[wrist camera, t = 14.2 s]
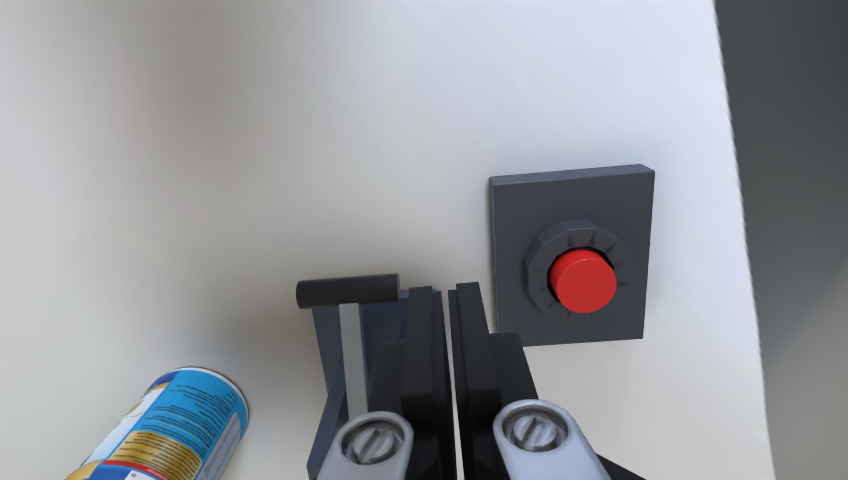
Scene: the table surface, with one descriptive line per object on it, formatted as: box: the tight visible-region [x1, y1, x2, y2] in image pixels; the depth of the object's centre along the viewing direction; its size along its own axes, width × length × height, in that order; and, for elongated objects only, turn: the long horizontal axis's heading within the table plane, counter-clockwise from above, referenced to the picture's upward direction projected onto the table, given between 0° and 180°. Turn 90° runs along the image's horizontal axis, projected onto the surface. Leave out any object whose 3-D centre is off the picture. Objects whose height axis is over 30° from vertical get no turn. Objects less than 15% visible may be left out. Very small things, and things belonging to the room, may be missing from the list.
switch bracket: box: [307, 289, 436, 480], centre depth 31 cm, size 11×9×13 cm
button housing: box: [490, 164, 655, 347], centre depth 32 cm, size 12×10×4 cm
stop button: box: [550, 249, 617, 313], centre depth 30 cm, size 4×4×2 cm
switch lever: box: [296, 274, 400, 421], centre depth 27 cm, size 12×6×2 cm, turn 6°
